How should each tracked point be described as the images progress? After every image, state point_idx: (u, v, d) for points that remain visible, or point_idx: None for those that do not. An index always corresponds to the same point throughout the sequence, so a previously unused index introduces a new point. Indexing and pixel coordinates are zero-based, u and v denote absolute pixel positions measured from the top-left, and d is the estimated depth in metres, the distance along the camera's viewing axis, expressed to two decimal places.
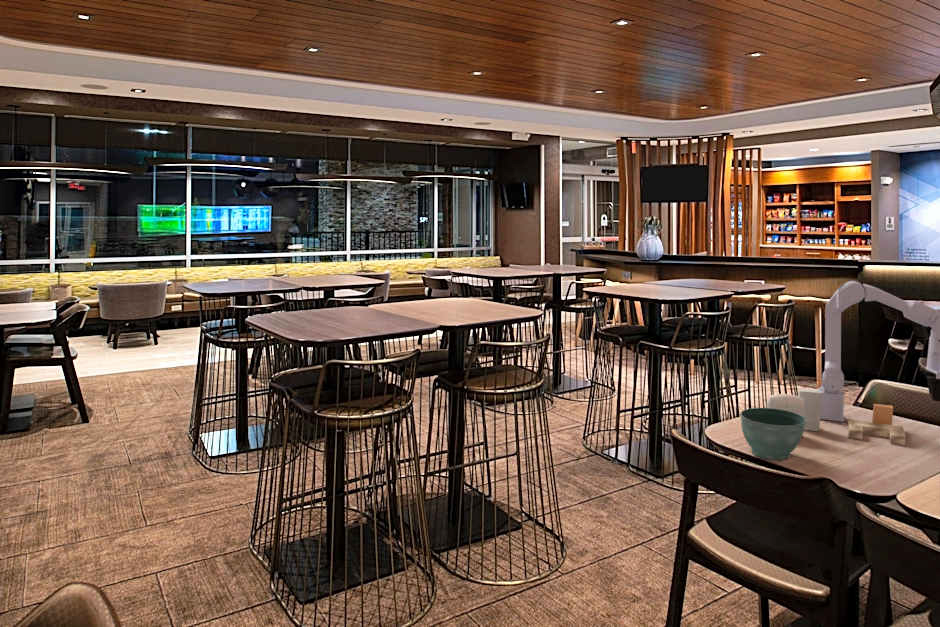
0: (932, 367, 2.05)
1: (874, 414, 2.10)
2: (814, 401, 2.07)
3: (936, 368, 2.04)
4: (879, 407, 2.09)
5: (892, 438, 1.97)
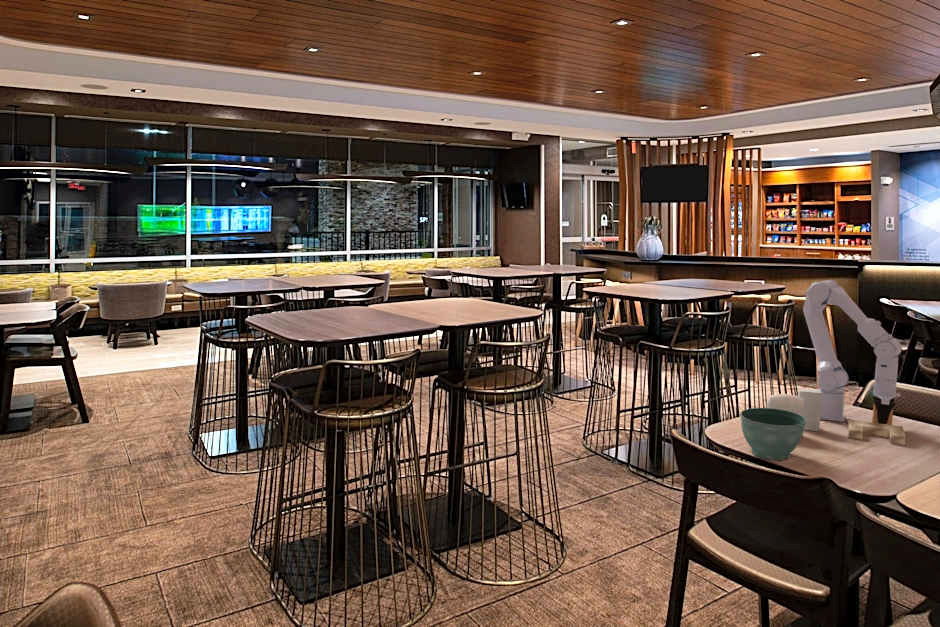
0: (878, 392, 2.08)
1: (874, 414, 2.10)
2: (814, 401, 2.07)
3: (882, 393, 2.07)
4: None
5: (892, 438, 1.97)
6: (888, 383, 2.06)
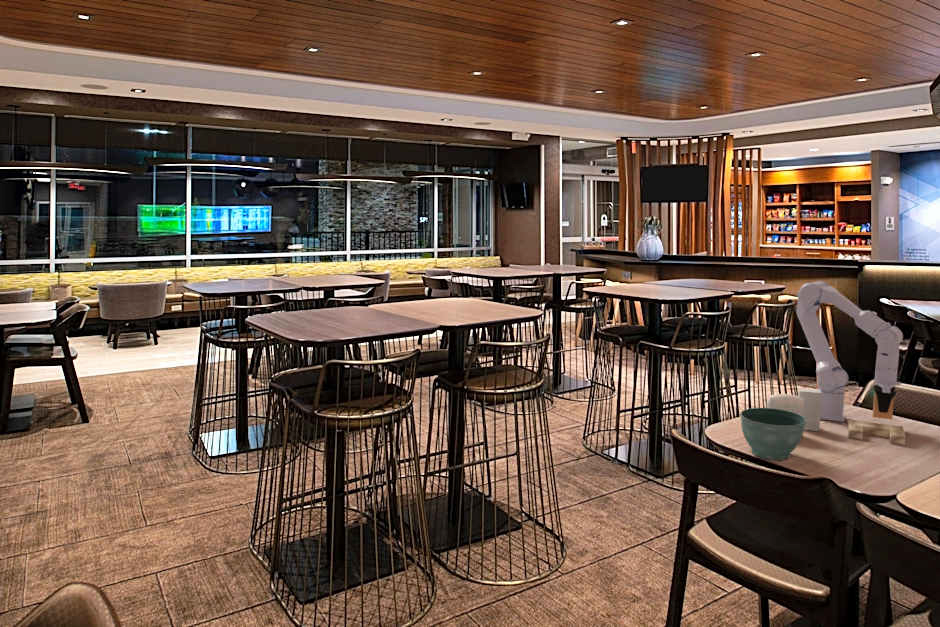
0: (879, 381, 2.08)
1: (875, 403, 2.10)
2: (814, 401, 2.07)
3: (883, 382, 2.07)
4: None
5: (892, 438, 1.97)
6: (889, 371, 2.06)
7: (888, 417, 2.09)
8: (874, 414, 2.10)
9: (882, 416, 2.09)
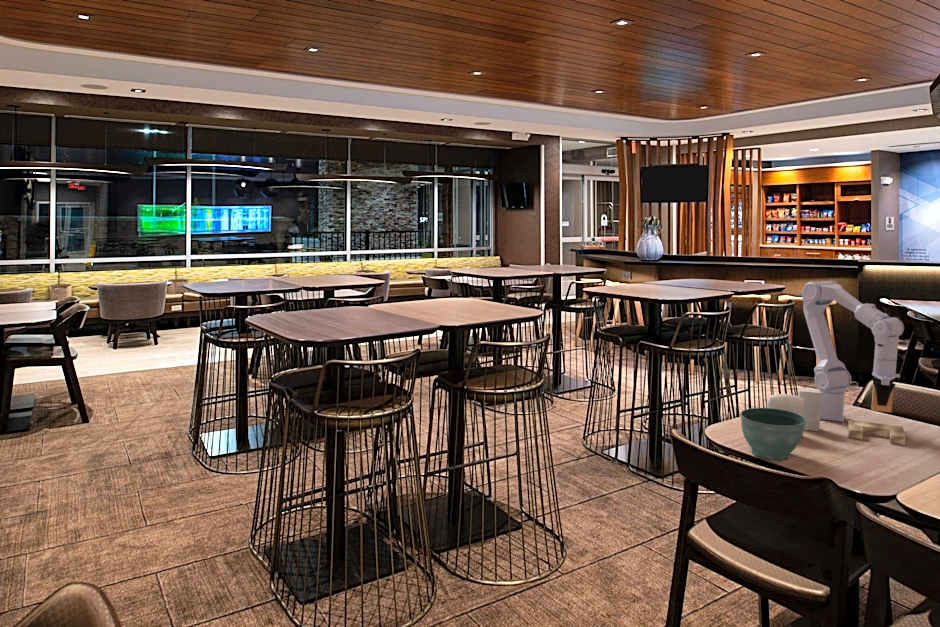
0: (878, 373, 2.03)
1: (874, 396, 2.05)
2: (814, 401, 2.07)
3: (882, 374, 2.02)
4: None
5: (892, 438, 1.97)
6: (888, 363, 2.01)
7: (887, 410, 2.03)
8: (873, 407, 2.05)
9: (881, 409, 2.04)
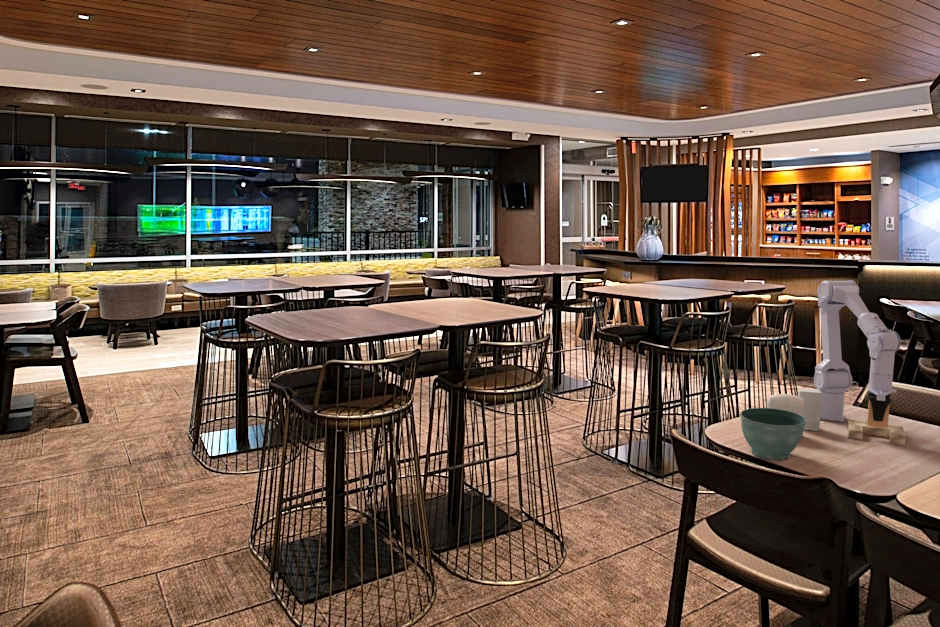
0: (873, 388, 1.98)
1: (869, 411, 2.00)
2: (814, 401, 2.07)
3: (877, 389, 1.97)
4: None
5: (892, 438, 1.97)
6: (884, 378, 1.96)
7: (883, 426, 1.98)
8: (869, 423, 2.00)
9: (877, 425, 1.99)
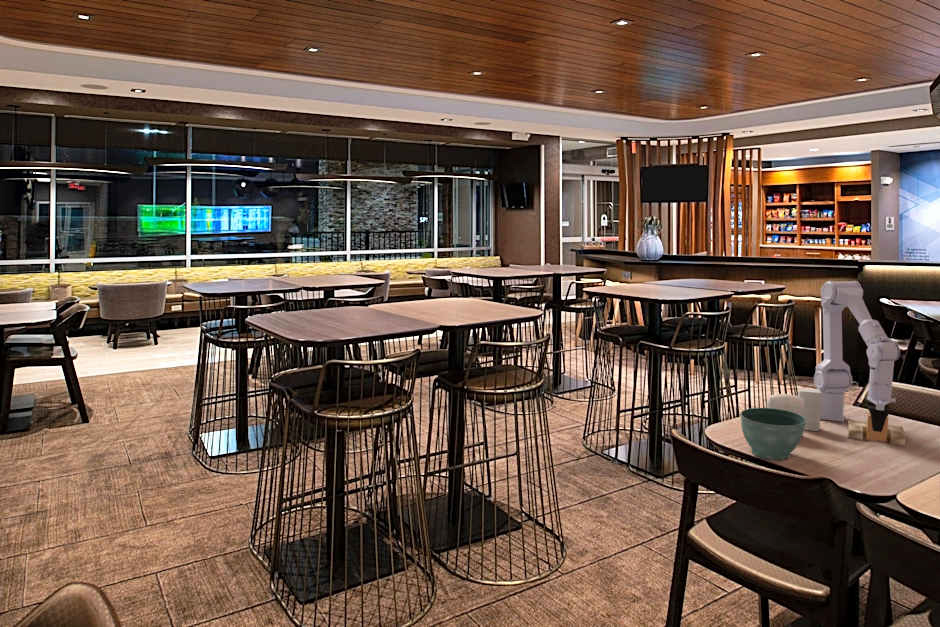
0: (873, 397, 1.98)
1: (868, 424, 2.00)
2: (814, 401, 2.07)
3: (876, 398, 1.97)
4: None
5: (892, 438, 1.97)
6: (883, 388, 1.96)
7: (882, 439, 1.99)
8: (867, 436, 2.01)
9: (876, 438, 2.00)
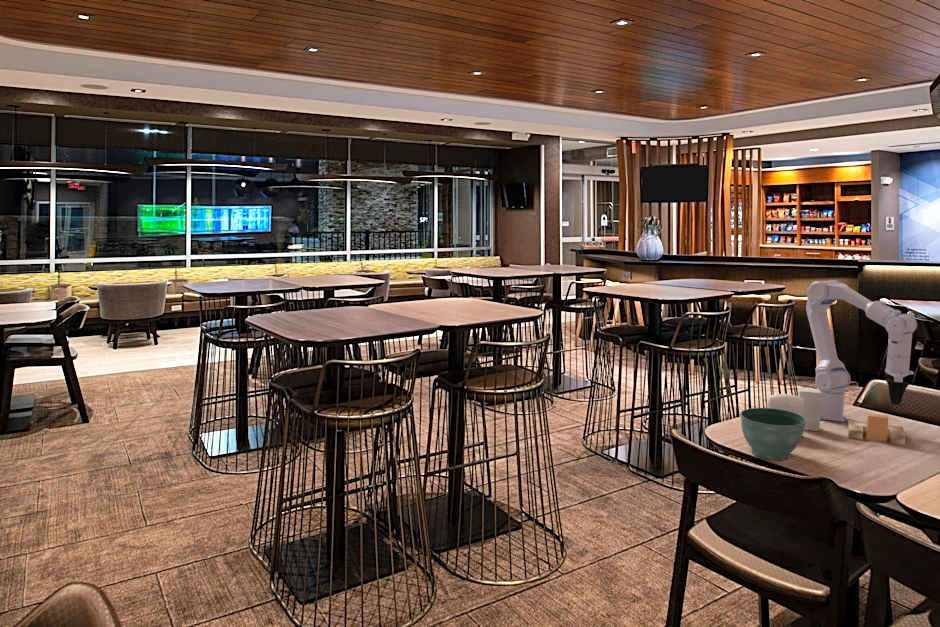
0: (891, 370, 2.01)
1: (868, 424, 2.00)
2: (814, 401, 2.07)
3: (895, 371, 2.00)
4: (874, 417, 1.99)
5: (892, 438, 1.97)
6: (901, 360, 1.99)
7: (882, 439, 1.99)
8: (867, 436, 2.01)
9: (876, 438, 2.00)
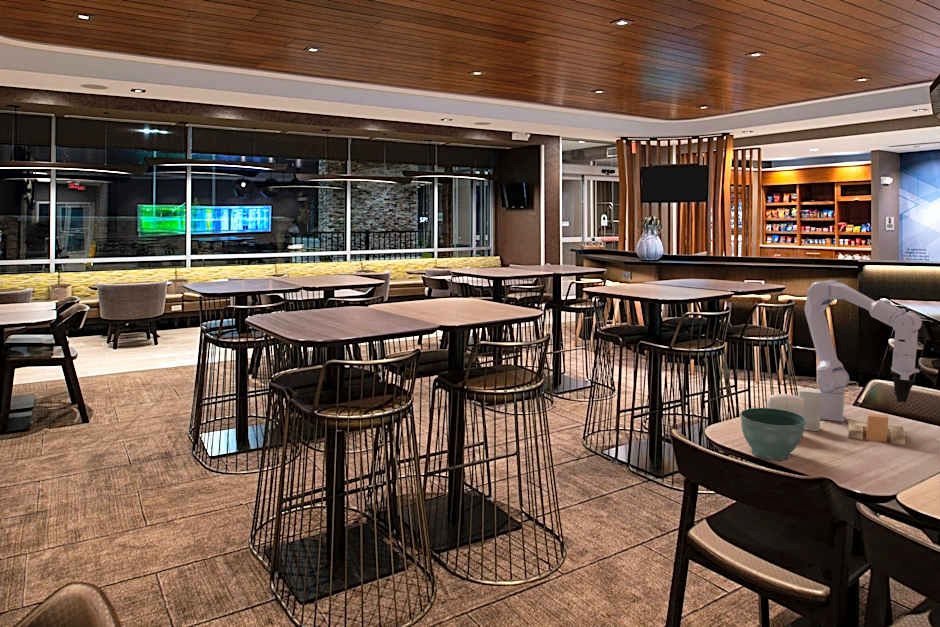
0: (897, 368, 2.03)
1: (868, 424, 2.00)
2: (814, 401, 2.07)
3: (901, 369, 2.02)
4: (873, 417, 1.99)
5: (892, 438, 1.97)
6: (907, 358, 2.01)
7: (882, 439, 1.99)
8: (867, 436, 2.01)
9: (876, 438, 2.00)
